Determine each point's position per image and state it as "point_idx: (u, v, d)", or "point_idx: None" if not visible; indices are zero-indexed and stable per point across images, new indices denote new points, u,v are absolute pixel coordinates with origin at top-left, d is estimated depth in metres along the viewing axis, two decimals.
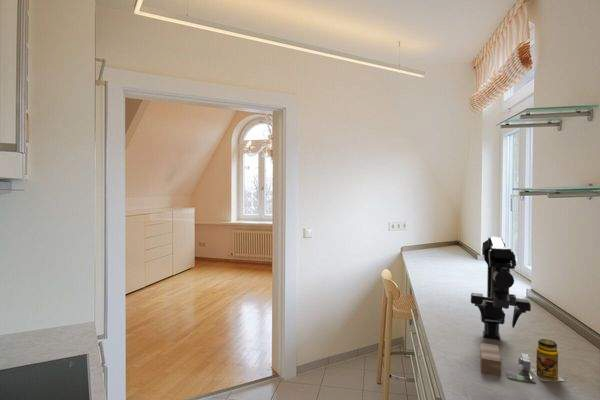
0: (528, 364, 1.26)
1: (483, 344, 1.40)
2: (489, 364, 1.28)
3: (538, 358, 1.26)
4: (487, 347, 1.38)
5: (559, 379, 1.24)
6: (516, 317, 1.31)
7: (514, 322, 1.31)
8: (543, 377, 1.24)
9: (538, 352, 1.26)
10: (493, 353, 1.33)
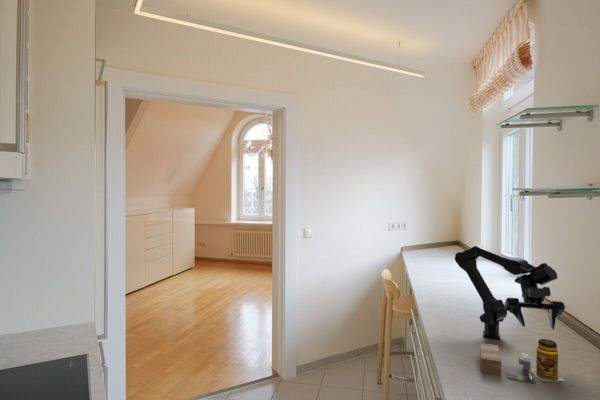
0: (528, 364, 1.26)
1: (483, 344, 1.40)
2: (489, 364, 1.28)
3: (538, 358, 1.26)
4: (487, 347, 1.38)
5: (559, 379, 1.24)
6: (553, 316, 1.34)
7: (553, 322, 1.34)
8: (543, 377, 1.24)
9: (538, 352, 1.26)
10: (493, 353, 1.33)
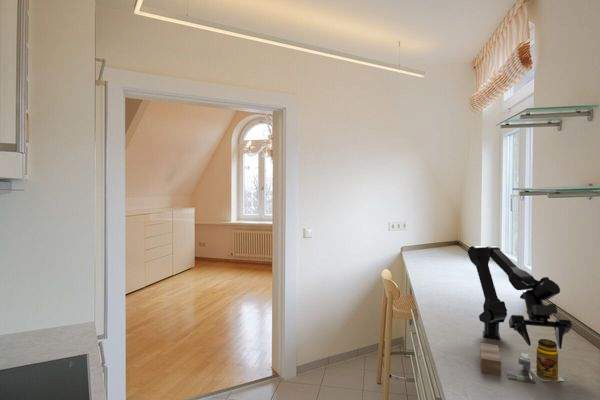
0: (528, 364, 1.26)
1: (483, 344, 1.40)
2: (489, 364, 1.28)
3: (538, 358, 1.26)
4: (487, 347, 1.38)
5: (559, 379, 1.24)
6: (560, 335, 1.29)
7: (560, 341, 1.28)
8: (543, 377, 1.24)
9: (538, 352, 1.26)
10: (493, 353, 1.33)
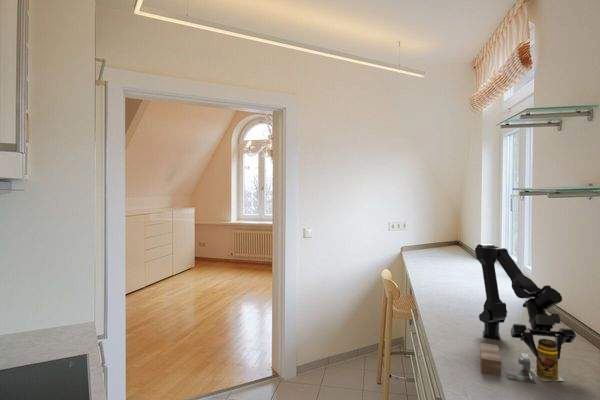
0: (528, 364, 1.26)
1: (483, 344, 1.40)
2: (489, 364, 1.28)
3: (538, 358, 1.26)
4: (487, 347, 1.38)
5: (559, 379, 1.24)
6: (559, 345, 1.26)
7: (558, 351, 1.25)
8: (543, 377, 1.24)
9: (538, 352, 1.26)
10: (493, 353, 1.33)
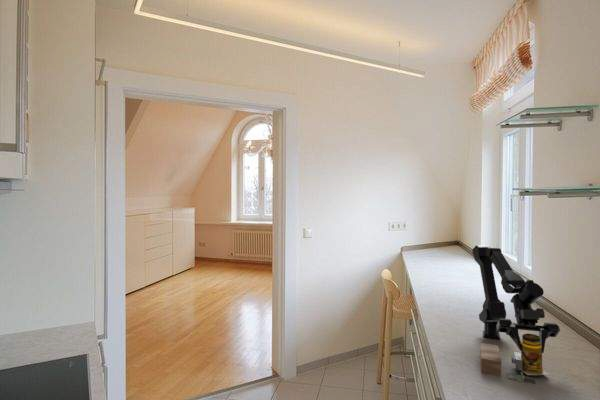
0: (520, 363, 1.27)
1: (483, 344, 1.40)
2: (489, 364, 1.28)
3: (522, 352, 1.28)
4: (487, 347, 1.38)
5: (544, 373, 1.26)
6: (543, 339, 1.28)
7: (542, 345, 1.27)
8: (528, 371, 1.26)
9: (522, 347, 1.28)
10: (493, 353, 1.33)
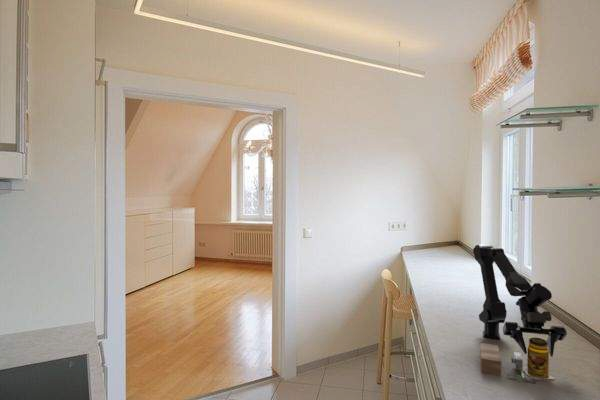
0: (520, 363, 1.27)
1: (483, 344, 1.40)
2: (489, 364, 1.28)
3: (529, 356, 1.27)
4: (487, 347, 1.38)
5: (549, 377, 1.25)
6: (552, 343, 1.27)
7: (552, 349, 1.26)
8: (533, 375, 1.26)
9: (529, 350, 1.27)
10: (493, 353, 1.33)
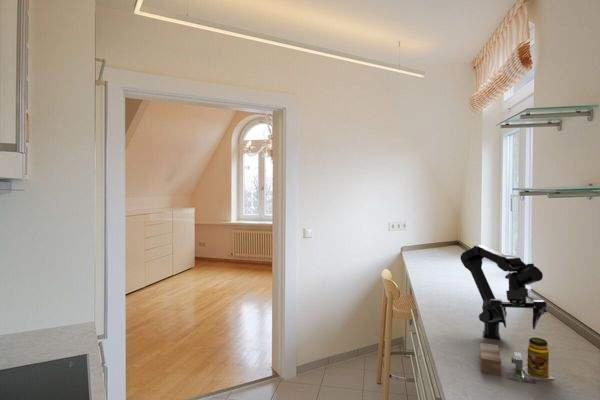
0: (520, 363, 1.27)
1: (483, 344, 1.40)
2: (489, 364, 1.28)
3: (529, 356, 1.27)
4: (487, 347, 1.38)
5: (549, 377, 1.25)
6: (534, 316, 1.35)
7: (533, 322, 1.35)
8: (533, 375, 1.26)
9: (529, 350, 1.27)
10: (493, 353, 1.33)
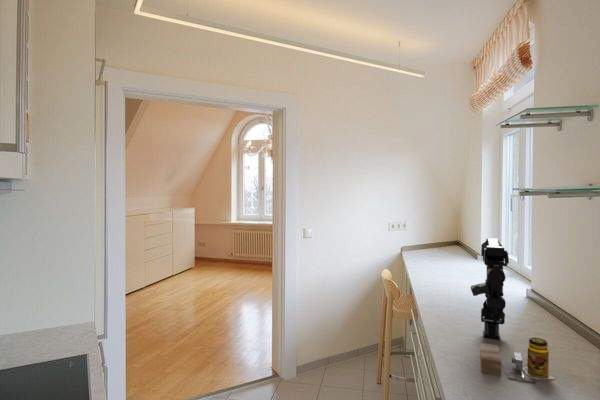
0: (520, 363, 1.27)
1: (483, 344, 1.40)
2: (489, 364, 1.28)
3: (529, 356, 1.27)
4: (487, 347, 1.38)
5: (549, 377, 1.25)
6: (491, 311, 1.41)
7: (492, 316, 1.41)
8: (533, 375, 1.26)
9: (529, 350, 1.27)
10: (493, 353, 1.33)
